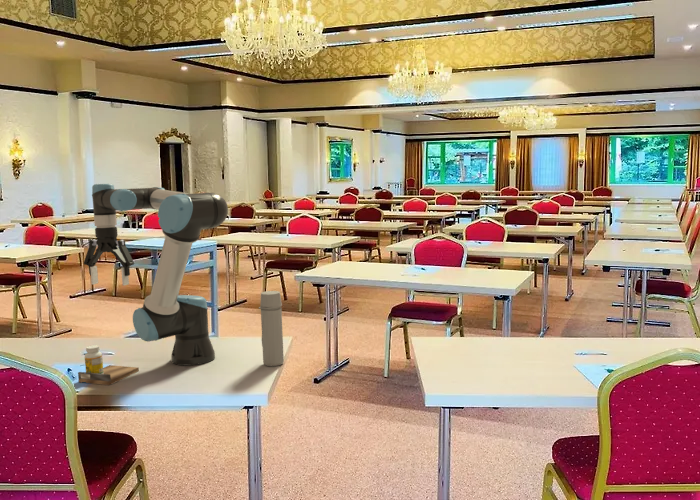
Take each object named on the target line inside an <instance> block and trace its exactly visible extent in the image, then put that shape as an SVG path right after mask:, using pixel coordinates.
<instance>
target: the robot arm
mask: <svg viewBox="0 0 700 500" xmlns="http://www.w3.org/2000/svg"><path fill="white" fill-rule="evenodd" d="M91 188H92V190H91V191H92V194H91V196H92V197H91V198H92V208H93V220H94V221H93V222H94V226H95V228H94V233H95V234H94V235H95V238H96V239H95V238H94V239H90V240H89V242H88V244H89V245H88V249H87V252H86V255H85V258H84V261H83V265H86V266H87V267H88V271H89V275H90V279H91V280H90V281H91V285H96V284H99V277H98V276H99V274H98V265H97V263H98V261H99V259H100V258H101V256H102V255H103V253H111V254H113V255H114V257H115V258H116V259H117V261H118V262H119V263H120V264H121V266H122V267H121V268H120V269H121V283H122V286H127V285H128V286H129V285H130V281H129V276H130V274H131V271H130V270H131V269H130V268H131V267H130V266H133V265H134V264H135V262H134V259H133V258H132V256H131V254H130V251H129V250H128V247H127V246H126V241H125V239H119V240H118V239H117V238H118V227H117V211H119V212H127V211H133V210H145V209H146V210H147V209H151V210H155V211H157V218H159V219H158V224H159V228H160V229H161V231H162V233H163V234H164V236H165V237H164V241H163V245H162V250H161V252H160V258H159V261H158V265H157V269H156V273H155V277H154V280H153V281H154V282H153V284H152V289H151V292H150V294H149V295H147V296H146V297H145V298H144V299H143V300H144V301H143V304H142V306H141V307H138V308H136V309H135V310H134V311H133V312H132V313H133V314H132V323H133V327H134V330H135V333H136V334H137V336H138V337H139V338H140V339H141V340H142V341H144V342H147V343H148V342H154V341H155V342H156V341H158V340H163V339H166V338H170V337H174V338H175V339H174V343H173V348H172V352H171V362H172V364H175V365H176V366H177V365H178V366H196V365H202V364H206V363H210V362H211V361H213V360H215V358H216V353H215V352H216V351H215V349H214V346H213V344H212V341H211V339H210V336H209V335H210V334H209V333H210V331H209V320H208V319H209V316H208V304H207V299H206V298H205V297H204V296H201V295H200V296H199V295H193V294H192V295H187V294H186V295H185V294H182V295H181V294H179V293H180V290H181V285H182V282H183V278H184V274H185V271H186V267H187V265H188V260H189V257H190V253H191V250H192V249H191V248H192V247H193V243H195V242H197V241H199V239H200V236H201V232H202V230H208V229H214V228H217V227H219V226H221V225H222V224H223V223H224V222H225V220H226V219H227V216H228V213H229V208H228V203H227V201H226V199H225V198H224V197H223V196H222V195H219V194H218V193H215V192H200V193H199V192H198V193H190V192H189V193H188V192H182V191H174V190H167V189H165V188H164V187H159V186H158V187H157V186H154V187H143V188H142V187H141V188H137V187H135V188H116V189H115V185H114V184H112V183H96V184H93V185H92V187H91Z"/></svg>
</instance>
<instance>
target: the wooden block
mask: <svg viewBox="0 0 700 500" xmlns="http://www.w3.org/2000/svg"><path fill="white" fill-rule="evenodd" d="M103 371H104V373H103V374H98V373H87V372H86V371H78V372H77V377H78V383H82V382H86V384H95V385H103V386H104V385H105V386H110V385H112V384H115V383H116V382H119V381H121V380H123V379H125V378H128V377H129V376H132V375H134V374H135V373H137V372H139V367H135V366H124V365H111V364H110V365H109V364H108V365H107V366H103Z"/></svg>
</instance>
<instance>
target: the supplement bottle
mask: <svg viewBox="0 0 700 500" xmlns="http://www.w3.org/2000/svg"><path fill="white" fill-rule="evenodd" d="M85 350H86V353H85V354H84V364H85V372H87V373H98V374H103V373H104V371H103V368H104V365H103V364H104V362H103V353H102V352H101V351H100V345H96V344H95V345H94V344H93V345H89V346H86V347H85Z"/></svg>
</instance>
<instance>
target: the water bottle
mask: <svg viewBox="0 0 700 500" xmlns="http://www.w3.org/2000/svg"><path fill="white" fill-rule="evenodd" d="M282 306H283V303H282V297H281V291H277V290H267V291H262V292H261V293H260V306H259V307H258V309H260V320H261V346H262V360H263V361H262V363H263V364H264V366H266V367H278V366H280V365H283V363H284V362H285V361H284V360H285V359H284V338H283V337H284V335H283V334H284V333H283V313H282Z"/></svg>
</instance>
